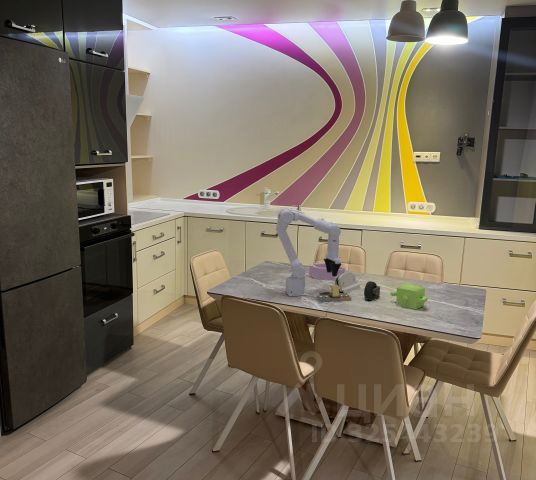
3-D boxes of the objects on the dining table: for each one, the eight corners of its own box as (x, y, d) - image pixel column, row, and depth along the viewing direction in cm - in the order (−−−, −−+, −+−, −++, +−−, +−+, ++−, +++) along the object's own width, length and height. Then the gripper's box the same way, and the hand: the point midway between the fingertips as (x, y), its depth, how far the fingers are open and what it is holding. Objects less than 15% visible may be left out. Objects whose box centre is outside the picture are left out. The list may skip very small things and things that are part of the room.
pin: (332, 300, 243) (332, 287, 242) (329, 298, 247) (330, 285, 245) (339, 300, 244) (340, 287, 243) (336, 298, 248) (337, 285, 246)
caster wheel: (371, 304, 243) (384, 294, 254) (372, 285, 240) (384, 276, 252) (361, 301, 246) (373, 292, 257) (361, 283, 243) (374, 274, 255)
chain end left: (320, 302, 240) (320, 298, 240) (316, 298, 246) (316, 294, 246) (340, 301, 243) (340, 297, 242) (336, 297, 248) (336, 293, 248)
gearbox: (385, 304, 241) (386, 285, 239) (395, 299, 248) (396, 281, 246) (420, 312, 229) (421, 293, 227) (429, 306, 237) (430, 287, 235)
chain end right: (331, 301, 242) (331, 297, 241) (326, 297, 248) (327, 293, 247) (351, 300, 244) (351, 296, 244) (346, 296, 250) (346, 292, 250)
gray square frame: (322, 297, 248) (322, 295, 248) (319, 294, 253) (319, 292, 252) (331, 297, 249) (331, 294, 249) (328, 294, 254) (328, 292, 253)
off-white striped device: (344, 294, 255) (339, 275, 255) (336, 295, 258) (332, 276, 258) (360, 287, 267) (356, 269, 268) (353, 288, 270) (349, 270, 271)
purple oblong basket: (347, 278, 286) (347, 266, 285) (339, 283, 275) (339, 271, 274) (315, 273, 295) (315, 261, 294) (306, 277, 285) (307, 266, 283)
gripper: (345, 251, 244) (344, 277, 247) (335, 245, 258) (334, 270, 260) (332, 251, 242) (331, 278, 245) (322, 245, 256) (321, 270, 259)
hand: (331, 274), depth 253 cm, fingers open, 7 cm apart
